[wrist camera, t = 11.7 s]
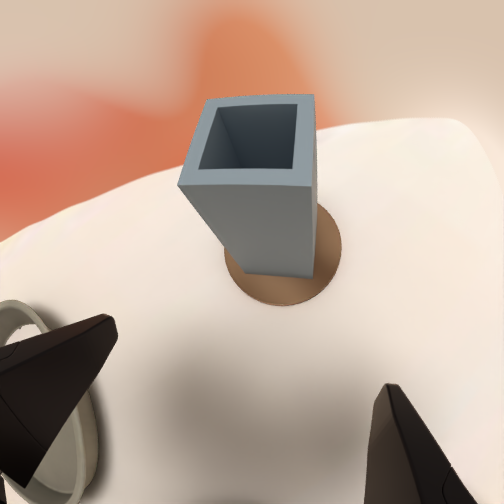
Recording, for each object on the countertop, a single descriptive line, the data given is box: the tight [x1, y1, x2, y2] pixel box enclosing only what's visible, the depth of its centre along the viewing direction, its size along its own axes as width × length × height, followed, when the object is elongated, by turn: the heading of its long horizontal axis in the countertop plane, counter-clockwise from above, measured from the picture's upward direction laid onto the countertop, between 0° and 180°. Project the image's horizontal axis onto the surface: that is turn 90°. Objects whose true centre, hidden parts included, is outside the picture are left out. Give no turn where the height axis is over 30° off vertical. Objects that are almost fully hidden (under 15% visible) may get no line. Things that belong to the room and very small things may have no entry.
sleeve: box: [177, 94, 317, 279], centre depth 16 cm, size 5×5×12 cm
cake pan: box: [0, 300, 99, 504], centre depth 20 cm, size 25×25×4 cm
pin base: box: [224, 203, 342, 306], centre depth 20 cm, size 9×9×5 cm
